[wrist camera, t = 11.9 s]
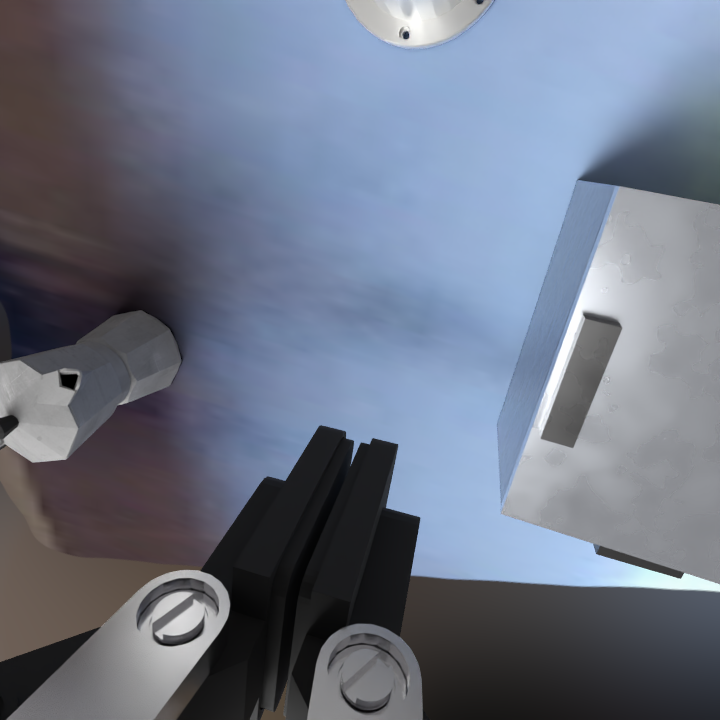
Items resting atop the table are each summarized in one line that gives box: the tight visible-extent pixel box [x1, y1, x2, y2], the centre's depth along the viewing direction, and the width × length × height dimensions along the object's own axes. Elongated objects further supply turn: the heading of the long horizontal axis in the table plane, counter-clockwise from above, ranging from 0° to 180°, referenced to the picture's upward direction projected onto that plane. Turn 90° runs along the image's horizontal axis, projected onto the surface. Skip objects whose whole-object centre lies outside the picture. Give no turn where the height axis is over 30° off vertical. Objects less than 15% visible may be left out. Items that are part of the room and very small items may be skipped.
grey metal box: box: [497, 180, 684, 579], centre depth 35 cm, size 28×22×12 cm
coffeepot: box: [0, 310, 182, 462], centre depth 45 cm, size 15×9×18 cm, turn 126°
